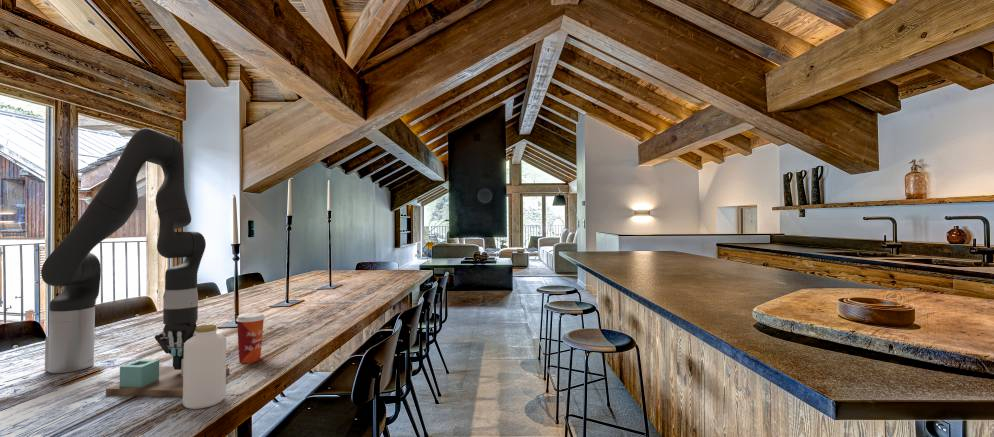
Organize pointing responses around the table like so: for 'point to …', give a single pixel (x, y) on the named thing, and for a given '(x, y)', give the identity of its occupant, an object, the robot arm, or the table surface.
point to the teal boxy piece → (139, 373)
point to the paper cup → (250, 336)
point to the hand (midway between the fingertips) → (179, 368)
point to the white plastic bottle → (204, 368)
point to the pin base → (156, 385)
